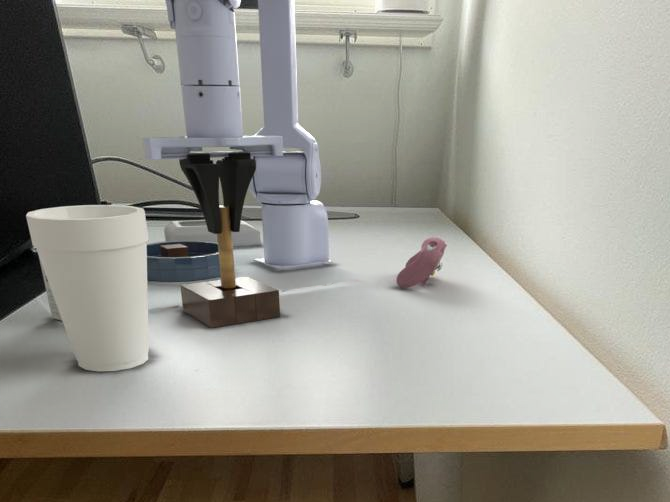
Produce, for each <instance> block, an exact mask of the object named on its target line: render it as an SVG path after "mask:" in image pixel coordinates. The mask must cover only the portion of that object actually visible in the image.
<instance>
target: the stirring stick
mask: <svg viewBox="0 0 670 502" xmlns="http://www.w3.org/2000/svg"><path fill="white" fill-rule="evenodd" d="M219 206H220V215H221V233H220V234H217V243H218V253H219V264H220V275H221V276H220V280H221V286H222V288H234V287H236V281H235V278H236V271H235V270H236V269H235V258H234V246H233V245H232V233H231V221H230V208H229V206H225V205H224V204H223V205H222V204H221V205H220V204H219Z"/></svg>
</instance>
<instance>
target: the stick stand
mask: <svg viewBox="0 0 670 502" xmlns="http://www.w3.org/2000/svg"><path fill="white" fill-rule="evenodd" d="M235 281H236V287H234V288H222V286H221V279H216V280H209V281H208V280H207V281H200V282H193V283H186V284H185V283H184V284H180V285H179V287H180V295H181V304H182V311H183V312H184V313H187V314H188V315H190V316H192V317H193V318H194V319H196V320H198V321H200V322H201V323H203V324H205V325H207V326H208V327H210V328H211V329H214V328H220V327H225V326H226V327H227V326H232V325H238V324H244V323H245V324H246V323H250V322H257V321H262V320H268V319H274V318H280V317H281V304H280V290H279V289H277V288H274V287H271V286H269V285H267V284H265V283H263V282H260V281H258V280H255V279H253V278H251V277H249V276H239V277H235Z"/></svg>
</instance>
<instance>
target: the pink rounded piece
mask: <svg viewBox="0 0 670 502" xmlns="http://www.w3.org/2000/svg"><path fill="white" fill-rule="evenodd" d="M447 246H448V245H447V243H446V241H445V240H443V239H442V238H440V237H428V238H427V239H425V240H424V241H423V242H422V244H421V247H420V250H419V251H418V252H416V253H415V254H414V255H413V256H411V257H410V258H409V259H408V260H407V262H406V263H405V267H403V268H402V270H400V271H399V273H398V274H397V276H396V280H395V281H396V284H397V286H398V288H401V289H406V288H411V287H414V286H416V285H418V284H419V283H420V284H422V285H424V286H425V285H426V284H427V282H428V281H429V279H430V277H433V276H435V273H436V271H437V272H440V271H441V270H442V268H443V264H444V263H443V262H441V261H442V258H443V256H444V254H445V251H446V248H447Z"/></svg>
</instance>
